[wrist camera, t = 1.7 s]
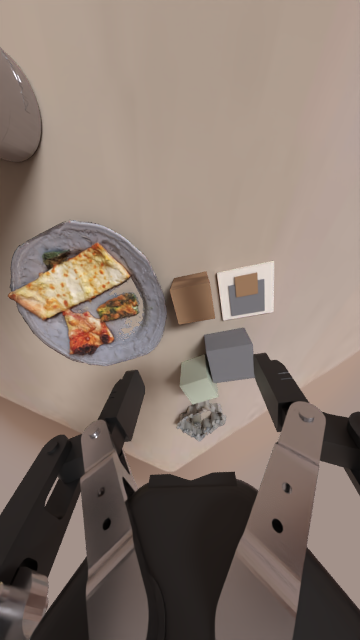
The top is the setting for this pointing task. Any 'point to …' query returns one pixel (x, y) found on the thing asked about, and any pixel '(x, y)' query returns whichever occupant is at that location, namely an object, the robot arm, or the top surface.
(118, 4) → the top surface
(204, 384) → the sage block
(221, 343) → the charcoal block
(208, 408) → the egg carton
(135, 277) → the food plate
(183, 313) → the walnut block
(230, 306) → the tile
